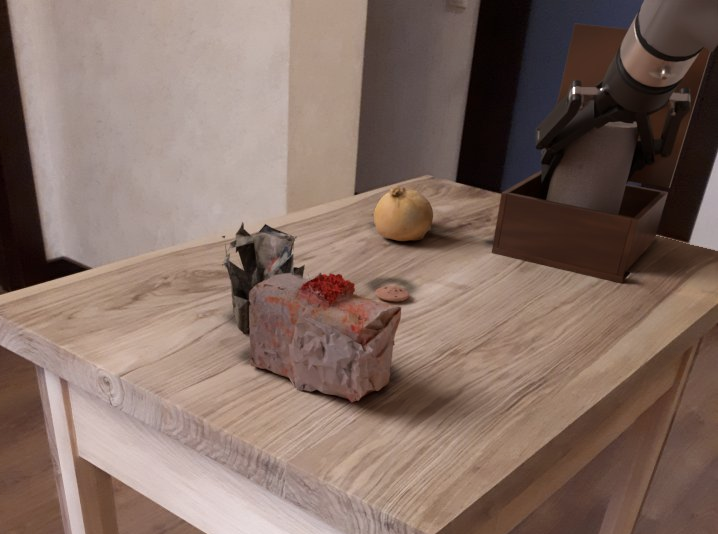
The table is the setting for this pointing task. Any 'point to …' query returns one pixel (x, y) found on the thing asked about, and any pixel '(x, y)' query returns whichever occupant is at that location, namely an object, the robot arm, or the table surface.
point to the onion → (403, 215)
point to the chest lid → (590, 65)
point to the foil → (258, 265)
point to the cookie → (392, 293)
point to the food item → (322, 334)
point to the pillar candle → (595, 168)
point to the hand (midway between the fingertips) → (582, 177)
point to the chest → (576, 230)
